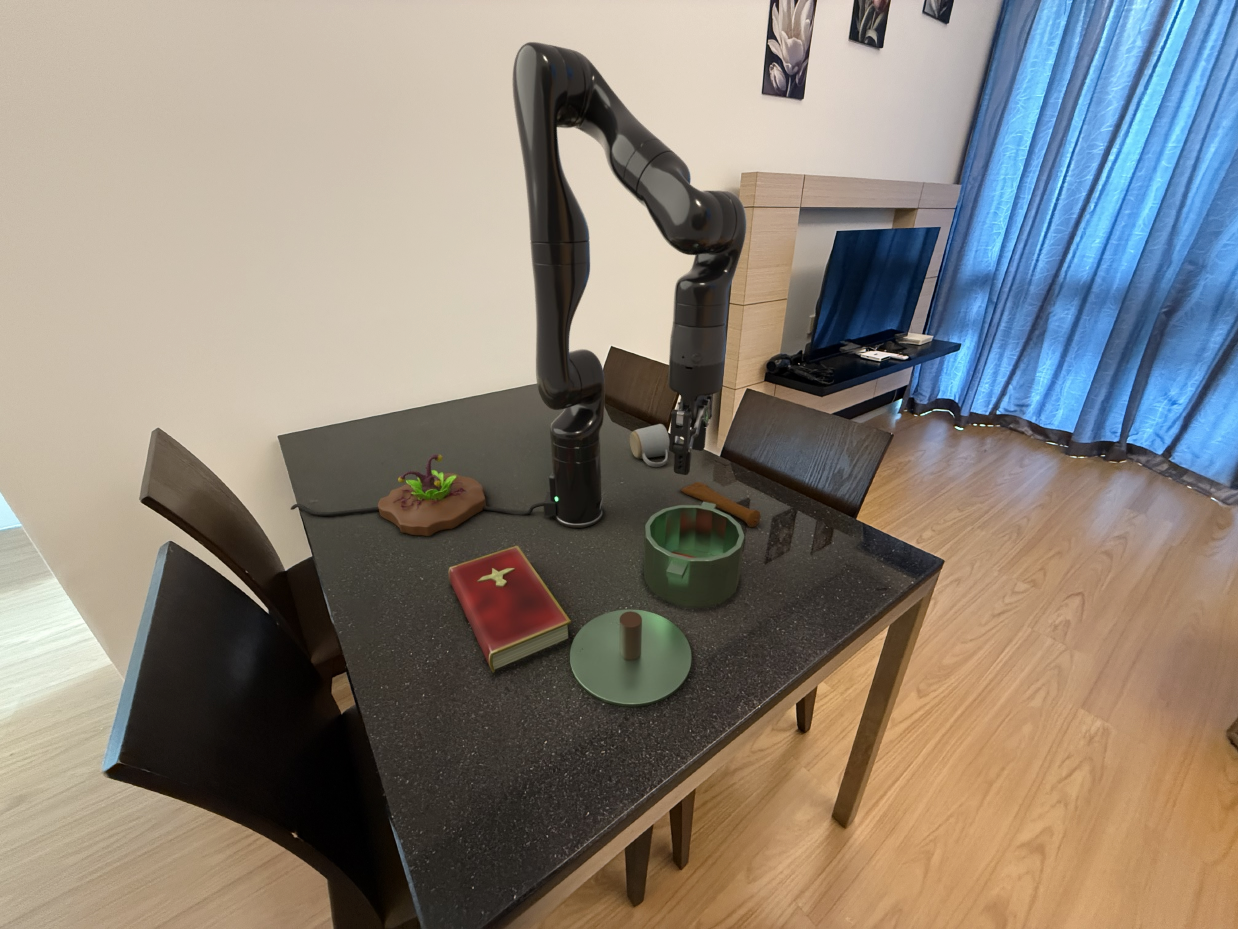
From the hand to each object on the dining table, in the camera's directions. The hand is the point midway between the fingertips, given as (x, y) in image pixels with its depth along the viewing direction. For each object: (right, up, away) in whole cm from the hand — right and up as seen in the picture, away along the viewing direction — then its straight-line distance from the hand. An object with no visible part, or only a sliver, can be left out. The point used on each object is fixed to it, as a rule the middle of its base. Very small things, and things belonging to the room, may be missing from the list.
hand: (689, 460), depth 79 cm
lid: (-9, -27, -6) cm, 29 cm away
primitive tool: (+10, -9, +30) cm, 33 cm away
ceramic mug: (-3, +1, +50) cm, 50 cm away
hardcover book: (-28, -24, +2) cm, 37 cm away
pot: (+1, -20, +10) cm, 22 cm away
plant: (-49, -9, +30) cm, 58 cm away
